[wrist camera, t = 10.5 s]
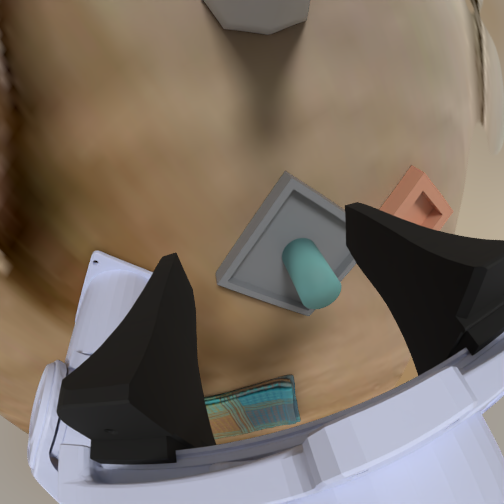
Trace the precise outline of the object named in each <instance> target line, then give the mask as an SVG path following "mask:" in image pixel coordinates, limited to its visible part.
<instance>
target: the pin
mask: <svg viewBox="0 0 504 504" xmlns="http://www.w3.org/2000/svg"><path fill="white" fill-rule="evenodd" d="M282 260H283V263H284V265H285V267H286V269H287V271H288V273H289V275H290V277H291V280H292V282H293V284H294V286H295V288H296V290H297V292H298V295H299V297H300V299H301V301H302V303H303V305H304V306H305V307H307V308H309V309H320V308H324V307H326V306H328V305H330V304H331V303H332V302H334V301H335V300H336V298H337V297H338V296H339V294H340V292H341V283H340V281H339V280H338V278H337V277H336V275H335V274H334V272H333V271H332V269H331V268H330V266H329V264H328V263H327V261H326V260H325V258H324V257H323V255H322V254H321V252H320V251H319V249H318V248H317V246H316V245H315V244H314V242H313V241H312V240H310V239H307V238H298V239H295V240H293V241H291V242H290V243H289V244H288V245H287V246H286V247H285V248H284V250H283V253H282Z"/></svg>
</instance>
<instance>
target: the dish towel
mask: <svg viewBox="0 0 504 504" xmlns="http://www.w3.org/2000/svg"><path fill="white" fill-rule="evenodd" d="M204 400H205V405H206V409H207V413H208V417H209V421H210V425H211V429H212V433H213V436H214V439H218V438H223V437H230V436H236V435H241V434H246V433H250V432H253V431H258V430H262V429H266V428H272V427H275V426H281V425H290V424H296V422H300V421H301V419H300V415H299V412H298V406H297V400H296V396H295V383H294V378H293V375H286V376H282V377H278V378H275V379H272V380H268V381H265V382H261V383H258V384H255V385H252V386H249V387H246V388H242V389H239V390H235V391H230V392H227V393H223V394H219V395H214V396H209V397H204Z"/></svg>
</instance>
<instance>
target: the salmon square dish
mask: <svg viewBox="0 0 504 504" xmlns="http://www.w3.org/2000/svg"><path fill="white" fill-rule="evenodd" d="M379 210H381V211H384V212H386V213H389V214H391V215H394V216H396V217H399V218H401V219H404V220H406V221H409V222H412V223H415V224H418V225H421V226H424V227H427V228H430V229H434V230H437V231H440V229H441V228H442V226H443V225H444V224H445V222H446V221H447V220H448V218H449V217H450V215H451V214H452V213H453V210H452V209H451V207H450V206H449V204H448V203H447V202H446V200H445V199H444V197H443V196H442V195H441V193H440V192H439V191H438V189H437V188H436V187H435V185H434V184H433V183H432V182H431V180H430V179H429V178H428V176H427V175H426V174H425V173H424V172H423V171H421V170H419V169H417V168H416V167H414V166H412V165H411V167H410V168H409V170H408V171H407V172H406V174H405V175H404V177H403V178H402V179H401V181H400V182H399V184H398V185H397V186H396V188H395V189H394V190H393V192H392V193H391V194H390V196H389V197H388V198H387V200H386V201H385V202H384V204H383V205H382V206H381V208H380V209H379Z"/></svg>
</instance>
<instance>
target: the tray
mask: <svg viewBox="0 0 504 504" xmlns="http://www.w3.org/2000/svg"><path fill="white" fill-rule="evenodd" d="M298 238H307V239H310V240H312V241H313V242H314V244H315V245H316V246H317V248H318V249H319V251H320V252H321V254H322V255H323V257H324V258H325V260H326V261H327V263H328V264H329V266H330V268H331V269H332V271H333V272H334V274H335V275H336V277H337V278H338V280H339V281H340V282H341V281H342V279H343V278H344V277H345V276H346V275H347V274H348V273H349V271H350V270H351V269H352V268H353V267H354V266H355V264H356V262H355V260H354V258H353V257H352V255H351V253H350V251H349V249H348V248H347V246H346V221H345V210H344V209H342V208H341V207H339V206H338V205H337V204H335V203H334V202H332V201H331V200H329V199H328V198H326V197H325V196H323V195H322V194H320V193H319V192H317V191H316V190H314V189H313V188H311V187H310V186H308V185H307V184H305V183H304V182H302V181H300V180H299V179H297V178H296V177H294V176H293V175H291V174H289V173H288V172H286V171H285V172H284V173H283V175H282V176H281V178H280V179H279V181H278V182H277V183H276V185H275V186H274V188H273V189H272V191H271V192H270V194H269V195H268V196H267V198H266V199H265V201H264V202H263V204H262V205H261V207H260V208H259V210H258V211H257V212H256V214H255V215H254V217H253V218H252V220H251V221H250V223H249V224H248V226H247V227H246V229H245V230H244V231H243V233H242V234H241V236H240V237H239V239H238V240H237V242H236V243H235V245H234V246H233V248H232V249H231V251H230V252H229V254H228V255H227V257H226V258H225V260H224V261H223V263H222V264H221V266H220V267H219V269H218V270H217V272H216V279H217V285H220V286H222V287H225V288H228V289H231V290H233V291H236V292H239V293H242V294H245V295H248V296H250V297H253V298H256V299H259V300H262V301H265V302H268V303H271V304H273V305H276V306H279V307H282V308H285V309H288V310H291V311H294V312H297V313H300V314H303V315H306V316H310V315H311V314H312V313H313V312H314V310H315V309H309V308H307V307H305V306H304V305H303V303H302V301H301V299H300V297H299V295H298V292H297V290H296V288H295V286H294V284H293V282H292V280H291V277H290V275H289V273H288V271H287V269H286V267H285V265H284V263H283V260H282V253H283V250H284V248H285V247H286V246H287V245H288V244H289V243H290V242H291V241H293V240H295V239H298Z"/></svg>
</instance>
